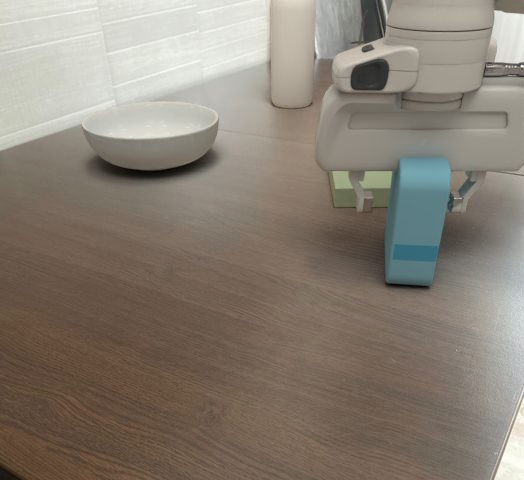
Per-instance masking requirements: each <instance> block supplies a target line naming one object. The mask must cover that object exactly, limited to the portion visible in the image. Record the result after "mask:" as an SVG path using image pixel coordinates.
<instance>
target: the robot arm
mask: <svg viewBox="0 0 524 480" xmlns="http://www.w3.org/2000/svg"><path fill="white" fill-rule="evenodd" d="M495 11H497V12H502V13H506V14H517V15H524V0H392V2H391V5H390V8H389V11H388V14H387V16H386V17H387V18H386V24H385V30H384V31H385V33H384V37H381V38H379V39H376V40H372V41H369V42H370V43H367V44H364V45H361V46H358V47H355V48H353V49H350V50H347V51H345V50H343V51H342V52H339V53H338V54H336V55H335V56H334V58H333V60H332V64H331V65H332V66H331V77H332V81H333V84H331V85H330V86H329V87H328V88H327V90H326V91H325V93H324V95H323V97H322V100H321V103H320V106H319V107H320V108H319V110H318V111H319V112H318V117H317V121H316V122H317V124H316V129H315V136H314V151H313V152H314V153H313V155H314V157H313V158H314V162H315V163H316V165H317V166H318V167H319V168H320V170H321V171H322V172H328V171H348V176H349V180H350V183H351V185H352V187H353V189H354V191H355V193H356V195H357V202H356V207H355V208H356V209H355V210H356V213H357V214H372V212H373V207H372V204H373V195H372V191H364V190H363V188H362V186H361V184H360V182H359V181H364V175H365V171H398V165H399V160H400V159H401V158H447V159H448V163H449V166H450V169H451V172H464V174H465V175H466V177H467V178H466V180H465V181H464V182H463V184H462V185H461V186H460V188H459V189H458V190H456V191H455V190H454V191H450V193H449V198H448V203H447V208H446V209H447V210H448V213H449V214H466V211H467V209H468V208H467V207H468V203H469V199H470V198H472V197H473V195H474V194H475V193H476V192H477V191H478V190H479V188H481V186H482V185H483V184H484V183H485V180H486V176H487V172H518V171H519V170H520V169H522V167H524V61H521V62H517V63H516V62H515V63H513V62H505V61H503V62H502V61H494V62H486V59H487V54H488V50H489V45H490V40H491V37H492V35H493V30H494V25H495Z"/></svg>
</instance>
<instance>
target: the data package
mask: <svg viewBox="0 0 524 480" xmlns="http://www.w3.org/2000/svg"><path fill="white" fill-rule="evenodd" d="M451 185H452V171H451V169H450V166H449V163H448V159H447V158H401V159H400V160H399V165H398V171H392V178H391V187H390V195H389V203H388V207H387V213H386V219H385V229H384V273H385V282H386V283H387V284H391V285H392V284H394V285H395V284H396V285H410V286H426V287H429V286H431V285H432V283H433V281H434V277H435V271H436V266H437V262H438V255H439V252H440V251H439V250H440V245H441V241H442V240H441V239H442V235H443V234H442V233H443V229H444V223H445V218H446V214H447V209H448V208H447V205H448V201H449V194H450V192H451Z"/></svg>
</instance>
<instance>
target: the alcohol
mask: <svg viewBox="0 0 524 480" xmlns="http://www.w3.org/2000/svg"><path fill="white" fill-rule="evenodd" d="M269 10H270V11H269V12H270V13H269V18H270V19H269V20H270V21H269V25H270V26H269V27H270V28H269V29H270V100H271V102H272V104H273V105H274V107H276V108H280V109H301V108H307V107H309V106H310V105H311V104H312V102H313V100H314V86H315V85H314V84H315V83H314V81H315V49H316V19H317V18H316V16H317V6H316V0H271V2H270V9H269Z"/></svg>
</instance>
